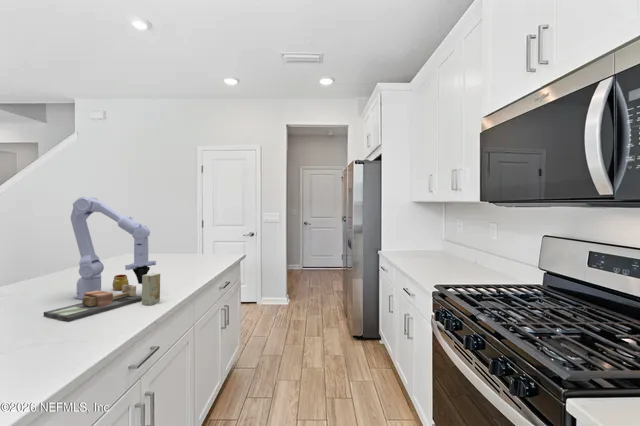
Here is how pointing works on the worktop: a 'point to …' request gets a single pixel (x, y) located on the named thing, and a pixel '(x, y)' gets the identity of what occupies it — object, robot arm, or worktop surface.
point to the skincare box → (150, 288)
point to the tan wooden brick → (126, 291)
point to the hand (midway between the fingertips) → (141, 283)
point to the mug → (119, 282)
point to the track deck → (84, 311)
